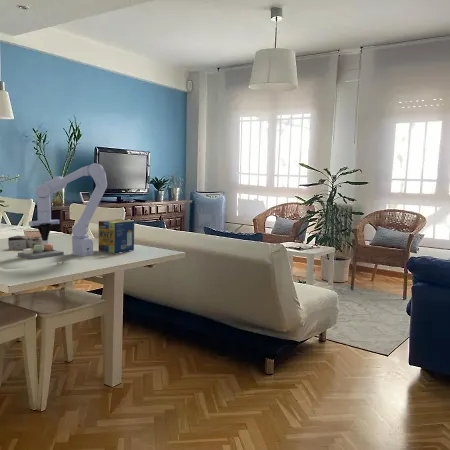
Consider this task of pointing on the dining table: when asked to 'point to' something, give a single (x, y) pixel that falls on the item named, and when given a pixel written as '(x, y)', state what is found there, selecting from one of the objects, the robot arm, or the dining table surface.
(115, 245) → the protein box
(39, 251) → the sage button
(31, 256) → the console
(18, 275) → the dining table surface
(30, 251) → the cream button
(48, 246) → the terracotta button
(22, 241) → the coffee box
